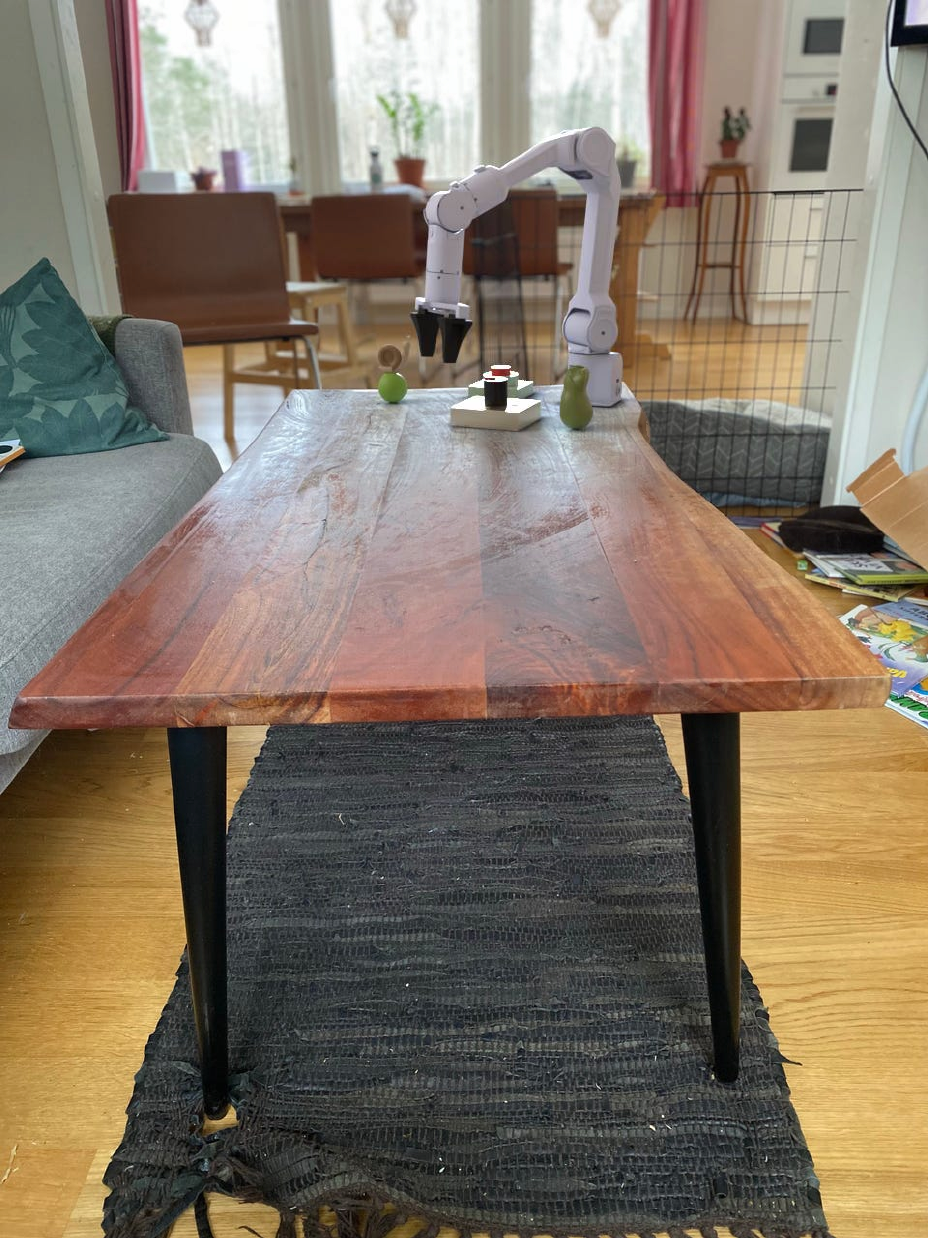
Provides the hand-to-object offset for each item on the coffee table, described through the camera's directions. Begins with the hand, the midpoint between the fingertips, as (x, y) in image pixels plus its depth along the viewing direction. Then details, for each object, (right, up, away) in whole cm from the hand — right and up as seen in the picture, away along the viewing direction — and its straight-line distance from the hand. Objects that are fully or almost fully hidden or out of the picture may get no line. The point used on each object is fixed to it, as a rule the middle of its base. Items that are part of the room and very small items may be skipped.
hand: (438, 359), depth 155 cm
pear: (+22, -13, -5) cm, 26 cm away
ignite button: (+11, +2, +19) cm, 22 cm away
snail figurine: (-8, -3, +17) cm, 19 cm away
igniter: (+11, -1, +21) cm, 24 cm away
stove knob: (+10, -7, -1) cm, 12 cm away
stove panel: (+10, -10, +1) cm, 14 cm away
